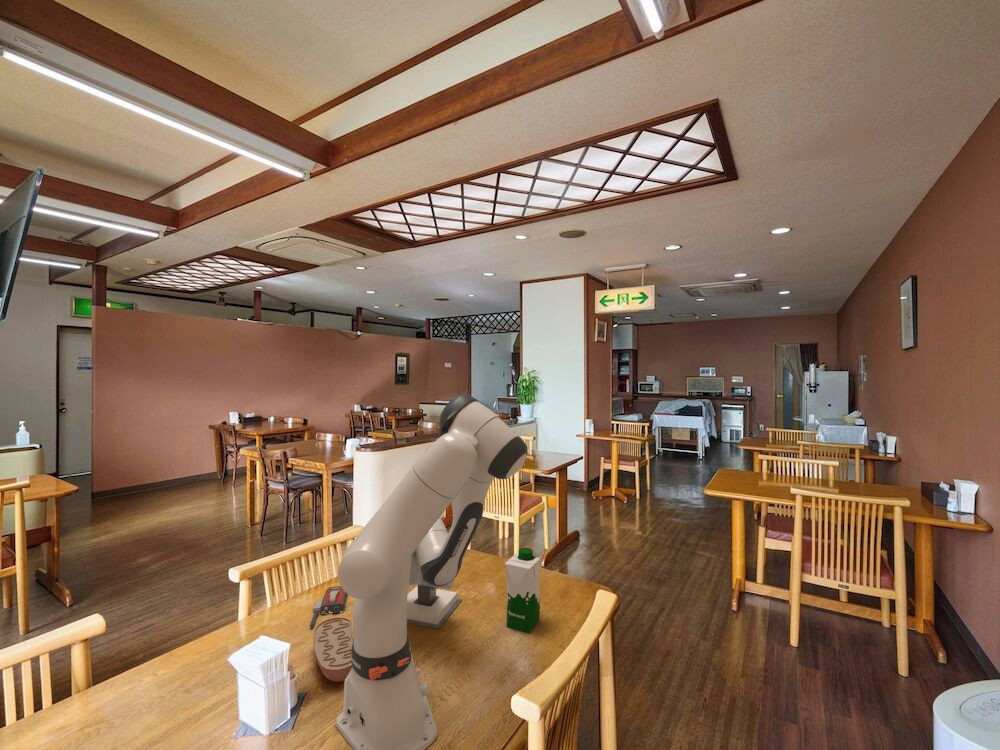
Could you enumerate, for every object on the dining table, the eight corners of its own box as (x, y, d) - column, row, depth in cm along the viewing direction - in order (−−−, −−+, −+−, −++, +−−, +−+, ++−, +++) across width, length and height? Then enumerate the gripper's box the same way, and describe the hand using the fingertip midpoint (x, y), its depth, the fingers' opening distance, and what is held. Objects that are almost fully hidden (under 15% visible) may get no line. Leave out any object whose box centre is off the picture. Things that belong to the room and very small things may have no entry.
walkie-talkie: (320, 596, 147) (307, 631, 127) (319, 582, 147) (306, 615, 127) (348, 593, 149) (340, 627, 129) (348, 579, 148) (340, 611, 129)
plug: (436, 601, 138) (435, 568, 138) (430, 608, 135) (429, 574, 134) (424, 599, 140) (423, 567, 139) (417, 606, 136) (417, 572, 136)
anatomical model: (365, 683, 106) (364, 661, 106) (318, 697, 102) (318, 675, 101) (349, 631, 126) (348, 613, 126) (310, 642, 122) (309, 623, 122)
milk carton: (543, 619, 132) (543, 550, 131) (530, 636, 124) (530, 562, 123) (516, 612, 136) (515, 544, 135) (501, 627, 128) (501, 556, 127)
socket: (461, 600, 142) (461, 591, 142) (439, 629, 127) (439, 618, 127) (415, 593, 147) (415, 583, 147) (388, 619, 132) (388, 609, 132)
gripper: (448, 560, 127) (462, 579, 136) (383, 551, 133) (401, 570, 143) (441, 583, 123) (456, 601, 132) (375, 573, 129) (394, 591, 139)
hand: (427, 585), depth 138 cm, fingers closed on plug, 4 cm apart
